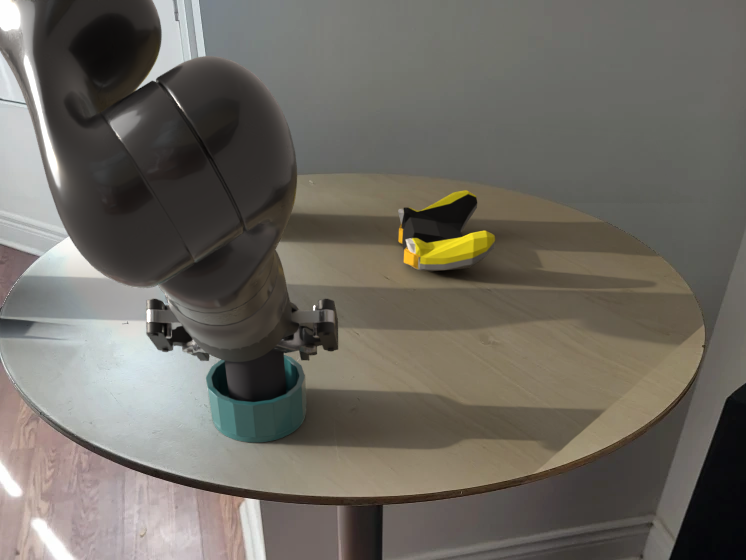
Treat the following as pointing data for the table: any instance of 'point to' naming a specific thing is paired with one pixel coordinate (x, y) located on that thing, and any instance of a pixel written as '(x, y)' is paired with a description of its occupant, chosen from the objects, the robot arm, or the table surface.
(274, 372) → the dark gray cylinder
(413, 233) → the banana pair
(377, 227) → the table surface
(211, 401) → the holder
